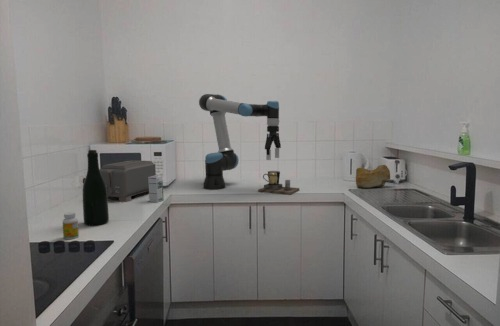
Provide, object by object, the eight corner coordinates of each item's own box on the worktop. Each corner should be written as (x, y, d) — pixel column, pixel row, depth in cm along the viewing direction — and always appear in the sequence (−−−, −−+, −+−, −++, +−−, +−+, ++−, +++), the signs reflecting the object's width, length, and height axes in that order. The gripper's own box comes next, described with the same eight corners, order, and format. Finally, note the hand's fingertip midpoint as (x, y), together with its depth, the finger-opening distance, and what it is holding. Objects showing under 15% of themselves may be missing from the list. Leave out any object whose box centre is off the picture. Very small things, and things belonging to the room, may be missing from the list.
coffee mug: (280, 184, 259) (280, 170, 258) (280, 187, 251) (280, 172, 250) (263, 184, 260) (263, 170, 259) (263, 186, 252) (262, 172, 251)
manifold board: (258, 192, 234) (257, 180, 233) (268, 187, 248) (268, 176, 247) (290, 194, 224) (290, 182, 223) (299, 190, 238) (299, 178, 237)
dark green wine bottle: (96, 218, 172) (92, 148, 169) (114, 221, 168) (110, 149, 165) (78, 224, 163) (73, 150, 159) (96, 227, 159) (92, 151, 155)
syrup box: (157, 202, 206) (157, 176, 204) (149, 201, 208) (148, 176, 206) (163, 200, 211) (162, 175, 210) (155, 199, 213) (154, 175, 212)
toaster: (94, 201, 211) (92, 166, 209) (132, 190, 244) (131, 159, 242) (122, 203, 205) (120, 167, 203) (157, 192, 238) (156, 160, 235)
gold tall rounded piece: (267, 188, 236) (267, 173, 235) (270, 187, 241) (270, 172, 240) (275, 189, 234) (275, 173, 233) (278, 188, 239) (278, 172, 237)
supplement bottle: (60, 238, 144) (58, 214, 143) (71, 234, 149) (70, 211, 148) (70, 240, 142) (69, 215, 141) (81, 236, 147) (80, 212, 146)
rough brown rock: (381, 185, 259) (380, 164, 258) (393, 187, 242) (392, 164, 242) (349, 187, 256) (348, 165, 256) (359, 189, 240) (358, 166, 239)
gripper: (270, 125, 220) (270, 161, 223) (285, 125, 242) (285, 157, 245) (259, 125, 224) (259, 160, 226) (275, 125, 246) (275, 156, 248)
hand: (272, 158), depth 235 cm, fingers open, 13 cm apart
